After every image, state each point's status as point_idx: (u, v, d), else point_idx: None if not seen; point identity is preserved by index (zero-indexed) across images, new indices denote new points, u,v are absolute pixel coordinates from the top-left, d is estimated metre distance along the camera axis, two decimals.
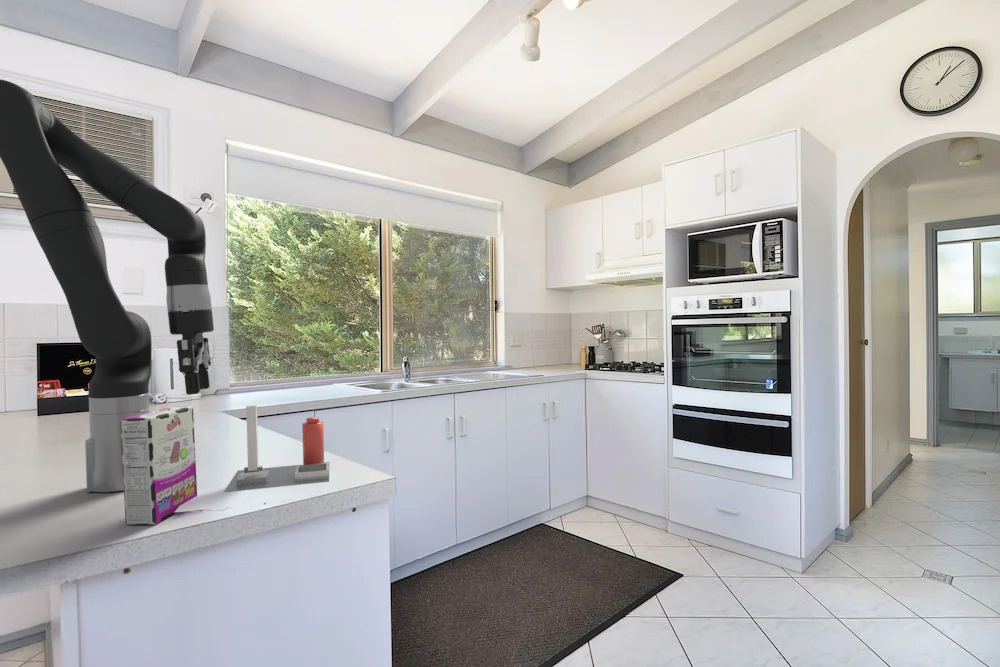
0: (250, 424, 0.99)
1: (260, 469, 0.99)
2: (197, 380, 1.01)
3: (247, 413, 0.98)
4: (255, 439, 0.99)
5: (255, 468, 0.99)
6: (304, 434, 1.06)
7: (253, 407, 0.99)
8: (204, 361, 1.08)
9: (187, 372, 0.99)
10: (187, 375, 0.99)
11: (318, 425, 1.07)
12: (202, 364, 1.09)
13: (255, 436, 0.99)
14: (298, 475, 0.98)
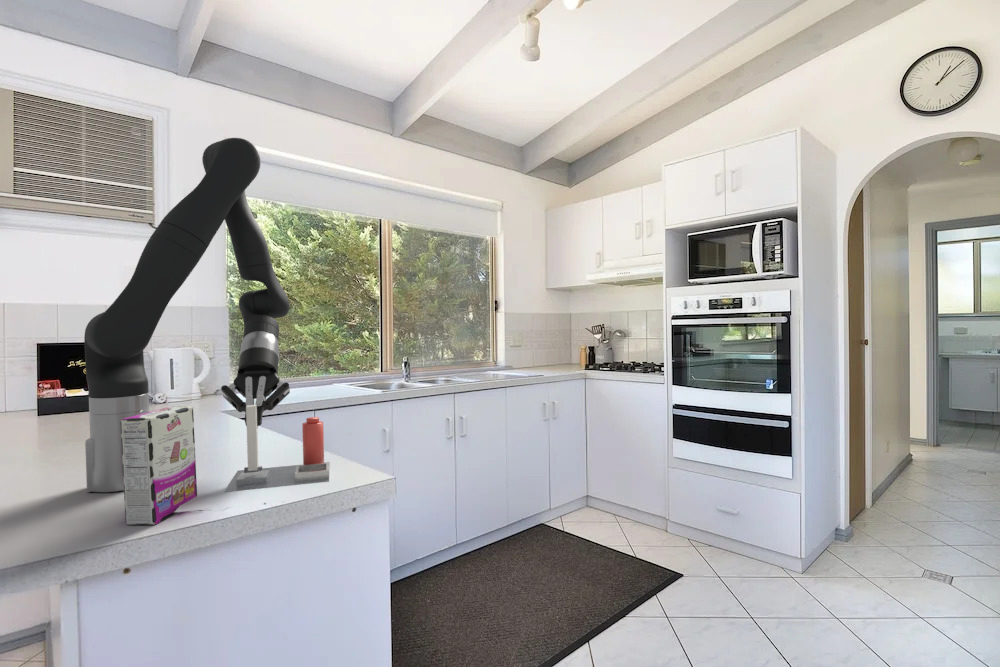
0: (250, 424, 0.98)
1: (260, 469, 0.99)
2: None
3: (247, 413, 0.98)
4: (255, 439, 0.99)
5: (255, 468, 0.99)
6: (304, 434, 1.06)
7: (253, 407, 0.98)
8: (253, 402, 1.05)
9: (267, 406, 1.04)
10: (262, 409, 1.03)
11: (318, 425, 1.07)
12: None
13: (255, 436, 0.99)
14: (298, 475, 0.98)
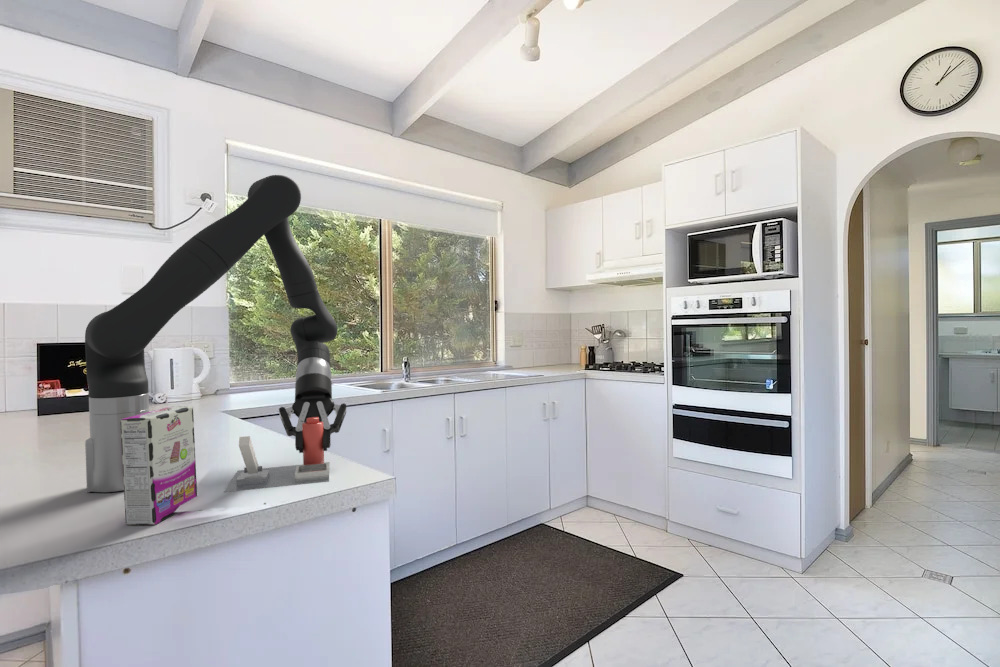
0: (245, 453, 0.92)
1: (260, 471, 1.00)
2: None
3: (241, 448, 0.91)
4: (252, 460, 0.95)
5: (255, 472, 0.99)
6: (304, 434, 1.06)
7: (246, 445, 0.90)
8: None
9: (334, 429, 1.10)
10: (330, 431, 1.09)
11: (318, 425, 1.07)
12: None
13: (252, 458, 0.94)
14: (298, 475, 0.98)
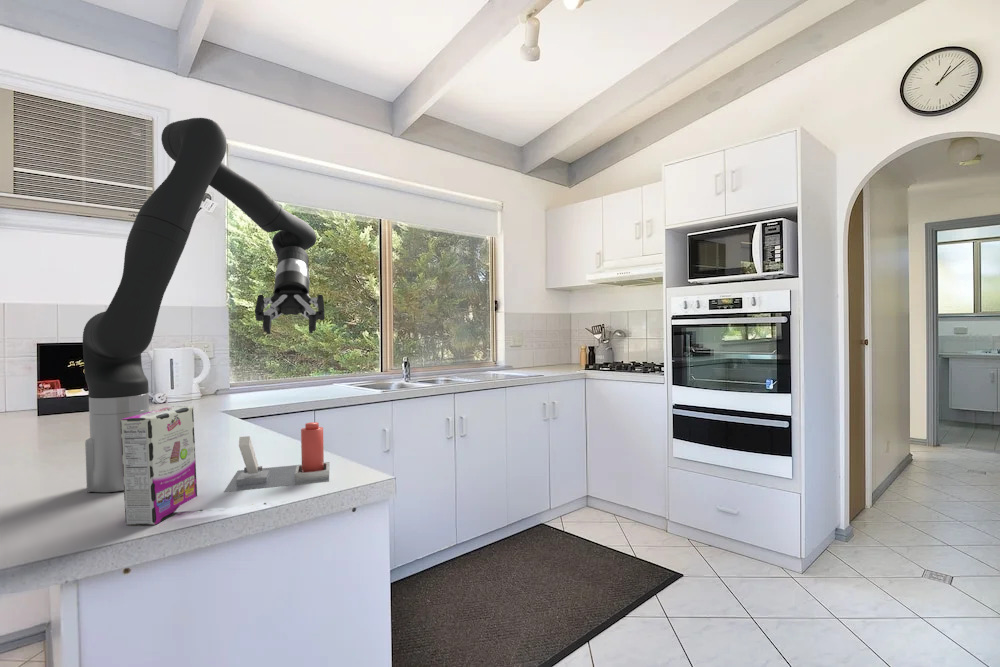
0: (245, 453, 0.92)
1: (260, 471, 1.00)
2: None
3: (241, 448, 0.91)
4: (252, 460, 0.95)
5: (255, 472, 0.99)
6: (303, 440, 1.00)
7: (246, 445, 0.90)
8: (276, 316, 1.17)
9: (319, 316, 1.18)
10: (316, 317, 1.18)
11: (318, 431, 1.00)
12: None
13: (252, 458, 0.94)
14: (298, 475, 0.98)
